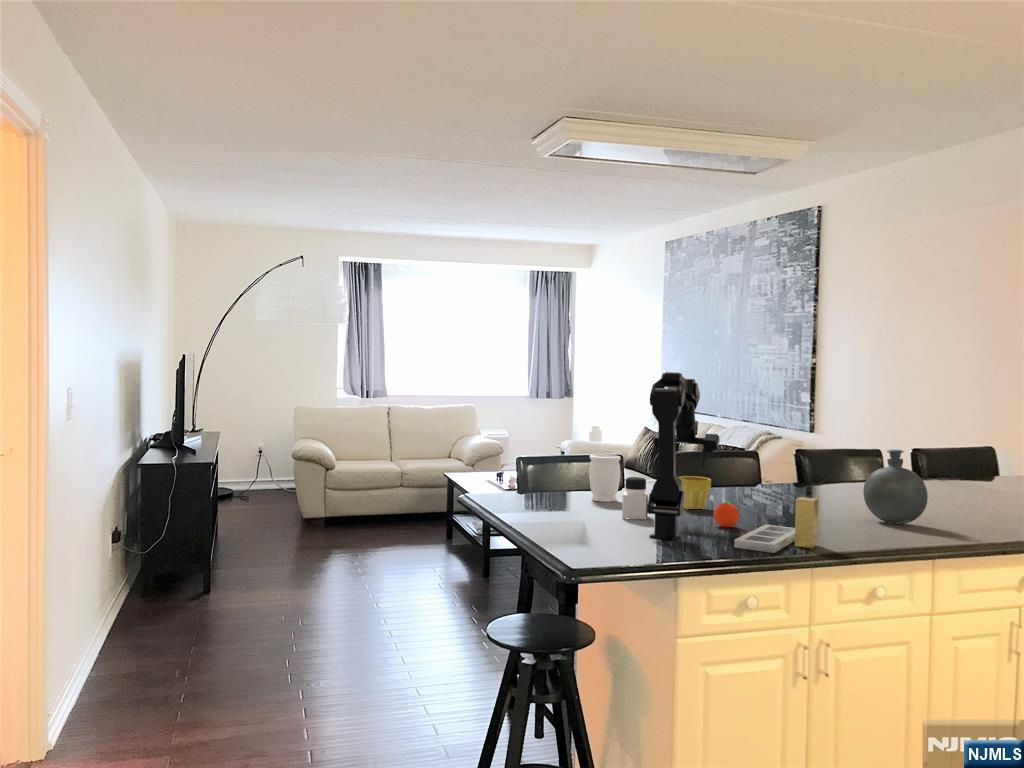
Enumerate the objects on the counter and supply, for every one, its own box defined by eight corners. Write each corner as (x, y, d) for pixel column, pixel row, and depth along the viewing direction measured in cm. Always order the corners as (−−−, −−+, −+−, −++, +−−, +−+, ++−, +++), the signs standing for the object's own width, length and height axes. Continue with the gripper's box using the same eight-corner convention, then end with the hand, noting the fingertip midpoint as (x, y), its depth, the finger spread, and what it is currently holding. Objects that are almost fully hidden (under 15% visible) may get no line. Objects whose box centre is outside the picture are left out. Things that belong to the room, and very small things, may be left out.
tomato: (721, 523, 247) (722, 499, 247) (744, 526, 243) (744, 501, 242) (708, 527, 241) (709, 502, 241) (731, 530, 236) (732, 505, 236)
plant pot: (717, 510, 269) (717, 479, 269) (689, 512, 265) (689, 480, 265) (698, 505, 279) (699, 475, 279) (671, 506, 275) (671, 476, 275)
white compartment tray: (774, 553, 208) (774, 544, 208) (734, 547, 214) (734, 539, 214) (802, 536, 230) (802, 528, 230) (765, 531, 236) (765, 524, 236)
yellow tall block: (812, 548, 215) (813, 501, 215) (794, 546, 217) (795, 499, 217) (817, 545, 219) (818, 498, 218) (799, 543, 221) (800, 497, 221)
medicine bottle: (646, 520, 250) (647, 479, 249) (622, 519, 251) (622, 478, 251) (647, 516, 257) (648, 476, 256) (623, 514, 258) (624, 475, 258)
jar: (582, 498, 288) (583, 454, 287) (609, 497, 292) (610, 453, 292) (598, 503, 278) (600, 457, 278) (625, 502, 283) (626, 457, 282)
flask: (883, 517, 262) (885, 446, 262) (932, 527, 247) (934, 451, 246) (856, 520, 257) (858, 447, 256) (905, 530, 242) (907, 453, 241)
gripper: (721, 408, 253) (722, 455, 258) (658, 406, 259) (661, 452, 265) (716, 424, 243) (717, 473, 249) (651, 422, 250) (654, 469, 256)
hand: (687, 466), depth 255 cm, fingers open, 9 cm apart
